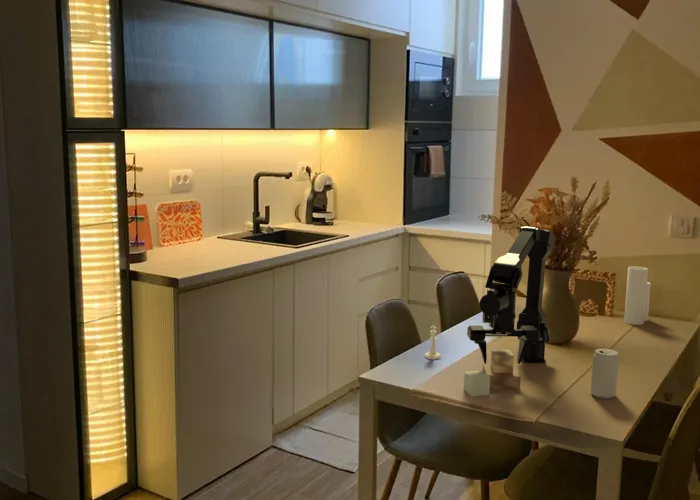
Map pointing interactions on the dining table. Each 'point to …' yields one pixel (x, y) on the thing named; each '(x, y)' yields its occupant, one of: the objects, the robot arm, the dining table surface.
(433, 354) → the chess piece
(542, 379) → the dining table surface
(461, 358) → the dining table surface
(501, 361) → the oak cube
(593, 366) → the beverage can
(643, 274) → the vase
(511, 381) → the pedestal
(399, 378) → the dining table surface
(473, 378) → the sage block
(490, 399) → the dining table surface
